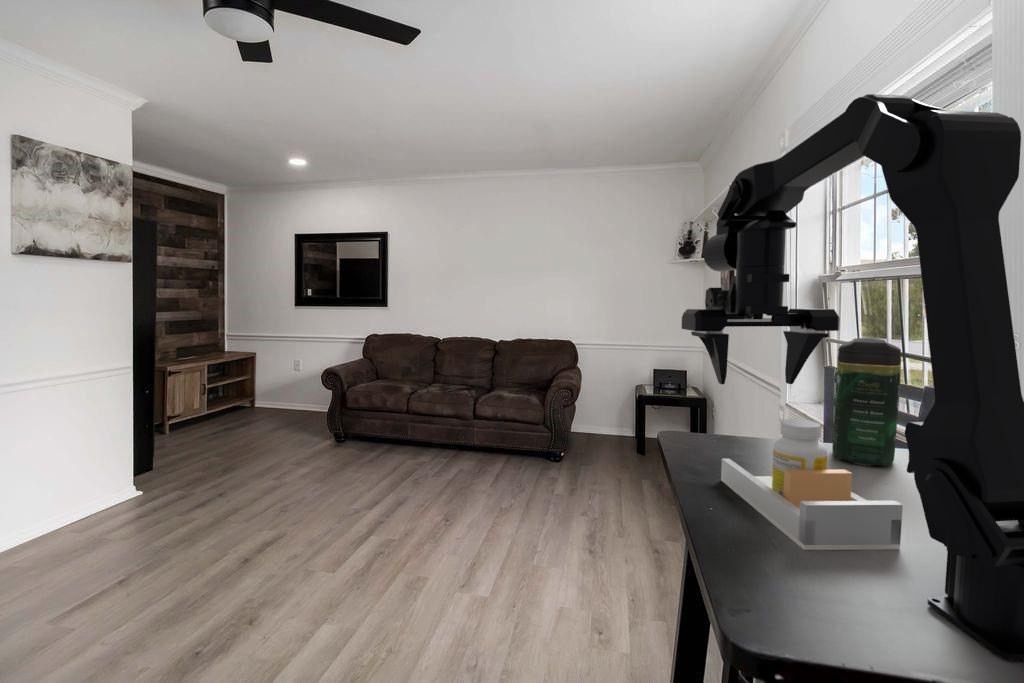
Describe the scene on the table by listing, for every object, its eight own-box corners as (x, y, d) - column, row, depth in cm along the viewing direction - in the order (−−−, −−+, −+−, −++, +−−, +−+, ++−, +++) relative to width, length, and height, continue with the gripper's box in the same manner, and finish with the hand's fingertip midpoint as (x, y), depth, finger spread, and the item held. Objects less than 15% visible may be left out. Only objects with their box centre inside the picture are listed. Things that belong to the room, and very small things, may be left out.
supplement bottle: (813, 498, 60) (817, 418, 59) (833, 518, 55) (838, 430, 54) (765, 495, 61) (768, 416, 60) (779, 514, 56) (783, 427, 55)
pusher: (849, 518, 54) (852, 473, 53) (788, 518, 54) (790, 473, 53) (842, 513, 55) (844, 469, 55) (782, 514, 55) (784, 469, 55)
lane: (899, 549, 49) (902, 504, 48) (804, 550, 49) (806, 505, 48) (790, 479, 68) (791, 447, 67) (721, 480, 68) (722, 447, 67)
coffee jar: (897, 472, 71) (905, 341, 69) (831, 462, 75) (837, 339, 74) (892, 454, 79) (899, 337, 77) (833, 446, 83) (838, 335, 81)
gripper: (795, 270, 74) (790, 374, 76) (670, 271, 74) (667, 375, 76) (845, 265, 63) (839, 387, 65) (698, 266, 63) (695, 388, 64)
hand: (755, 383), depth 68 cm, fingers open, 9 cm apart
